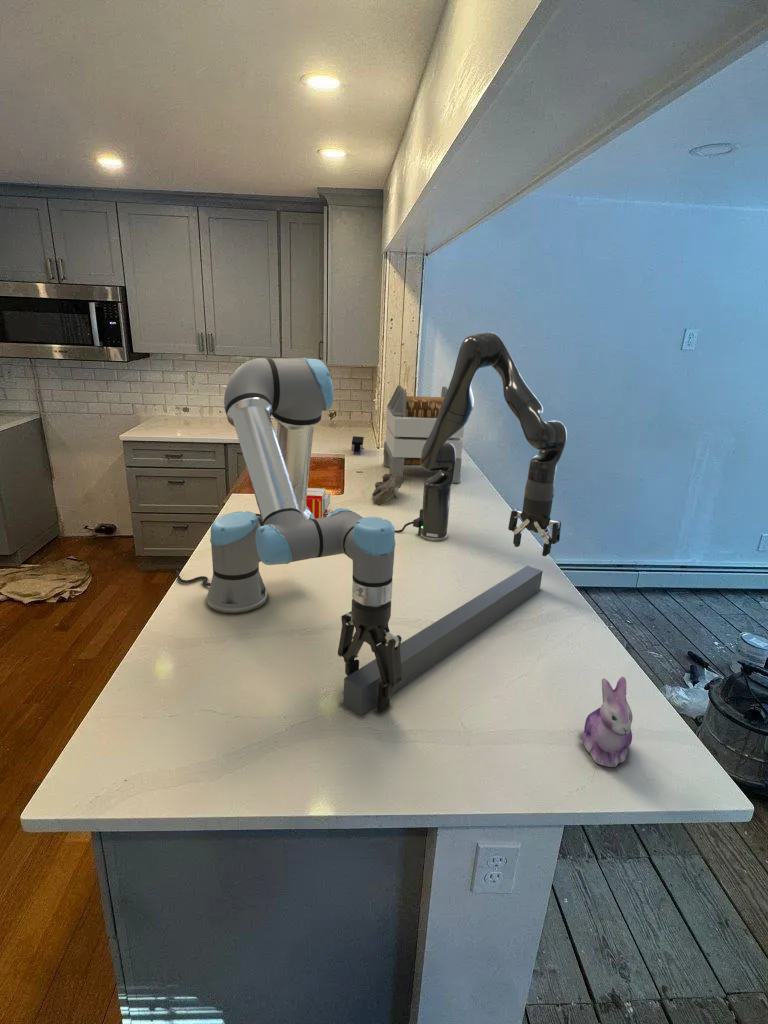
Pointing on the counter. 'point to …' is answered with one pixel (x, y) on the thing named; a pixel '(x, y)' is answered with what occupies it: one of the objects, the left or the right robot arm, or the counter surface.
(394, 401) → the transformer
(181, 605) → the counter surface
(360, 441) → the figurine character
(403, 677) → the post
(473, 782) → the counter surface
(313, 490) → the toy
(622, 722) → the figurine
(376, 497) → the fossil
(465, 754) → the counter surface
